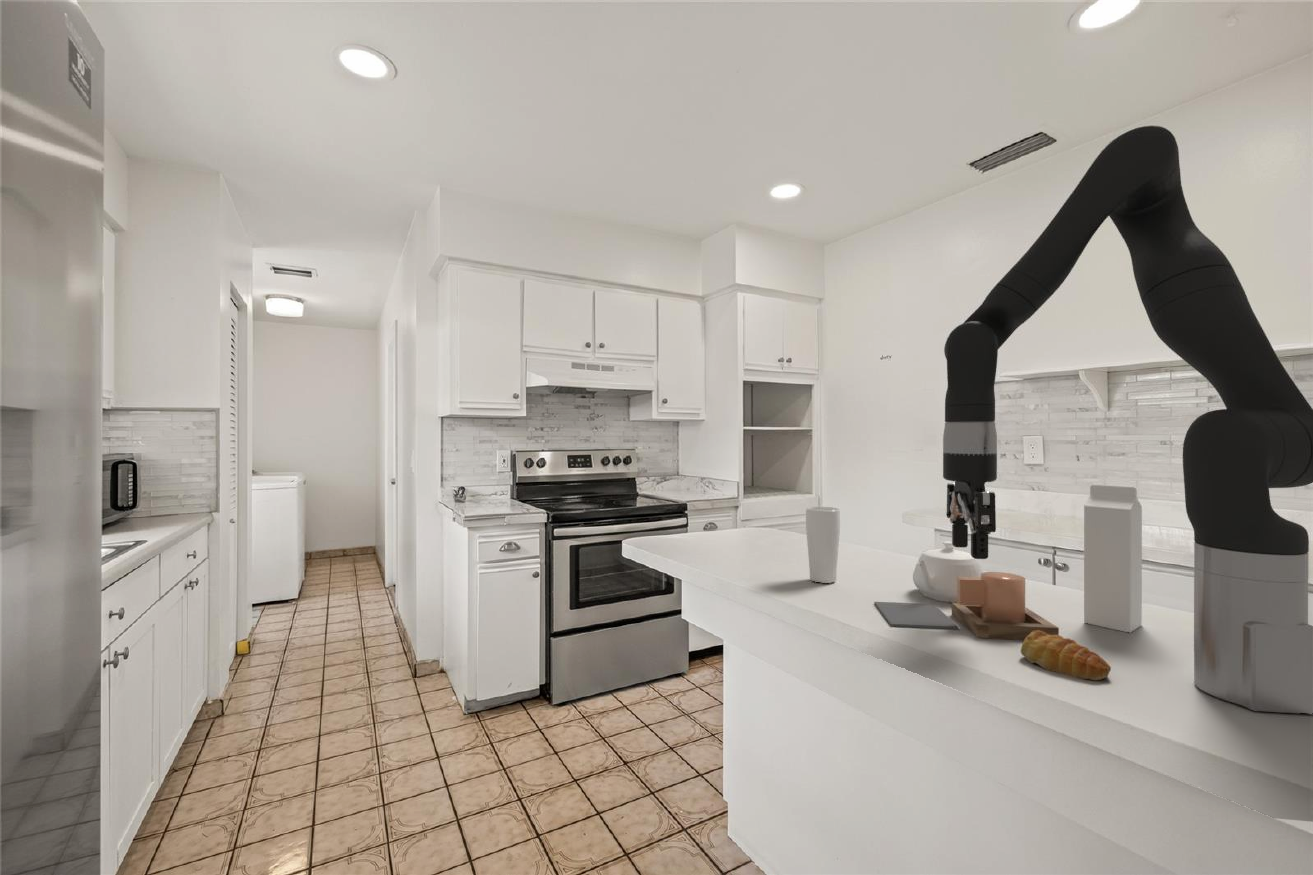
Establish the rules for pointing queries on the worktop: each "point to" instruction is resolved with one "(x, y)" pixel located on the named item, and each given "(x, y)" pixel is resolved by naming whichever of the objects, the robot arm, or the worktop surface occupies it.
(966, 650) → the worktop surface
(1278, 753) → the worktop surface
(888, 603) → the mat
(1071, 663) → the pastry
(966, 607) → the wooden tray
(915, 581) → the teapot
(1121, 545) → the milk
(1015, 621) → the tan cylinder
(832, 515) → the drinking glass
